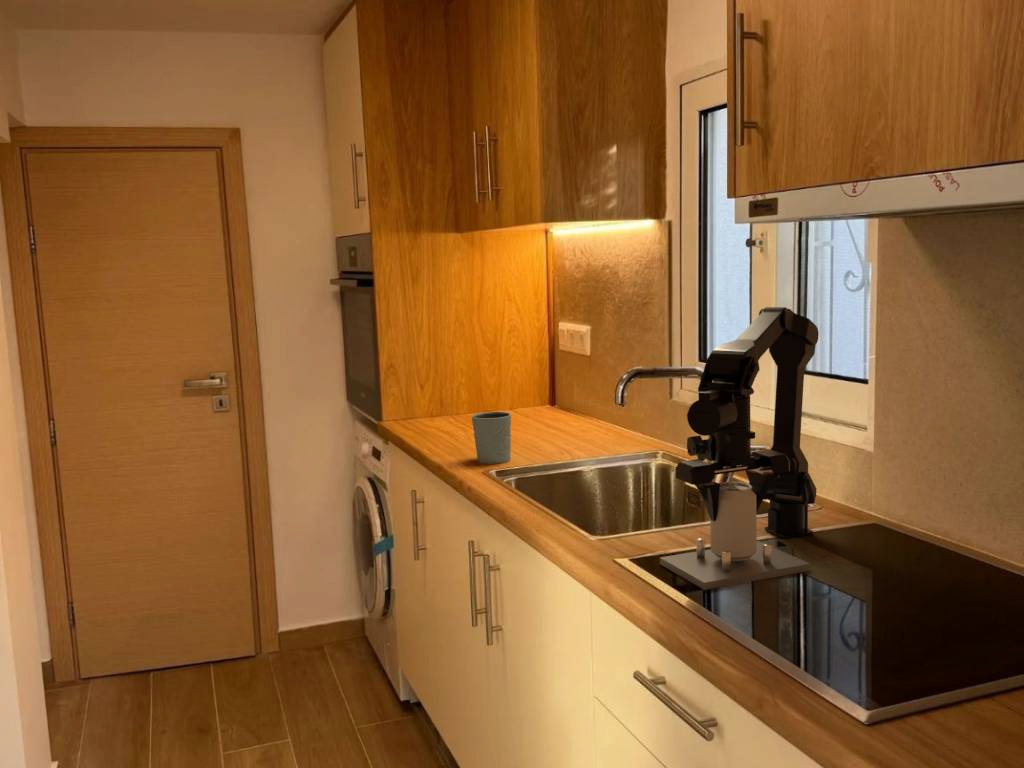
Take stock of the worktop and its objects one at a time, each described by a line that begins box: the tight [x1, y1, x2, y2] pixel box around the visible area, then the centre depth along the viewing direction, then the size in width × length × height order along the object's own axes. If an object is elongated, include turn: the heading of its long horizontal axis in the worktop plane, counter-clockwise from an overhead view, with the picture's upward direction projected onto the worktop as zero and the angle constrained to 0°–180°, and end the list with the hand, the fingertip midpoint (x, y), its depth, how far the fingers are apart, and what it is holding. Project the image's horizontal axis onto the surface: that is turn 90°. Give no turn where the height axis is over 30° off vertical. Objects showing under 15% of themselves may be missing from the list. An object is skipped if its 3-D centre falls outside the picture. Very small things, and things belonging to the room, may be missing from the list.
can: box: [709, 481, 758, 561], centre depth 162 cm, size 8×8×12 cm
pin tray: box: [659, 537, 811, 591], centre depth 163 cm, size 20×14×4 cm
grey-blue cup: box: [471, 411, 512, 465], centre depth 252 cm, size 10×10×12 cm
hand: (733, 517), depth 162 cm, fingers closed on can, 7 cm apart
